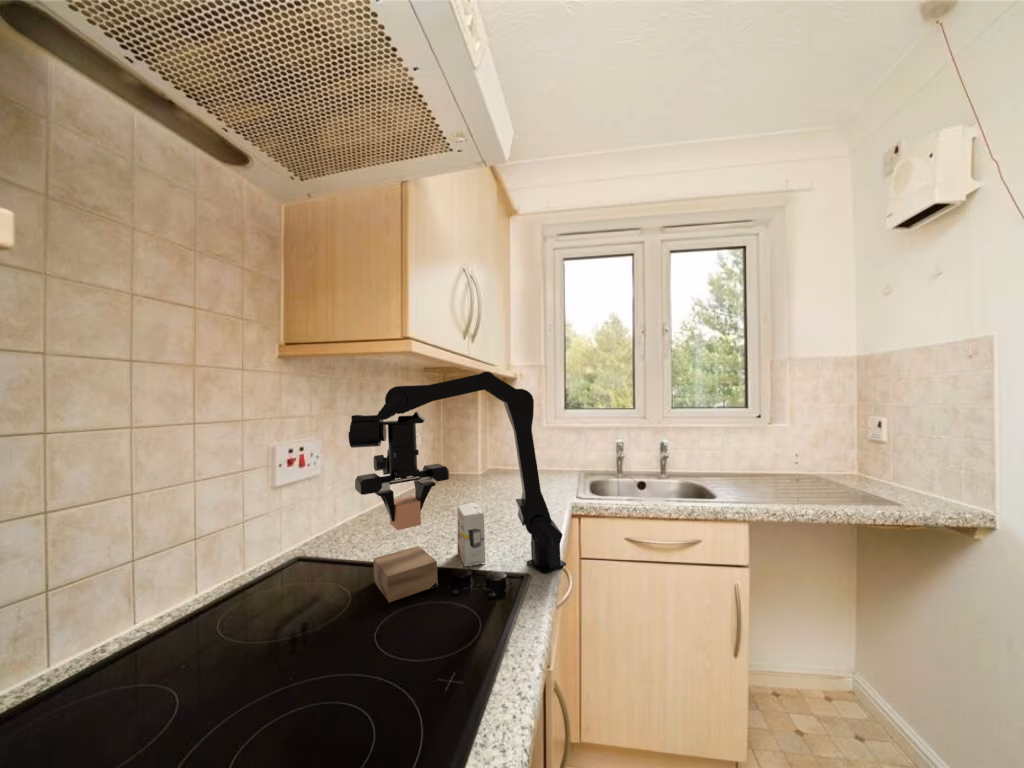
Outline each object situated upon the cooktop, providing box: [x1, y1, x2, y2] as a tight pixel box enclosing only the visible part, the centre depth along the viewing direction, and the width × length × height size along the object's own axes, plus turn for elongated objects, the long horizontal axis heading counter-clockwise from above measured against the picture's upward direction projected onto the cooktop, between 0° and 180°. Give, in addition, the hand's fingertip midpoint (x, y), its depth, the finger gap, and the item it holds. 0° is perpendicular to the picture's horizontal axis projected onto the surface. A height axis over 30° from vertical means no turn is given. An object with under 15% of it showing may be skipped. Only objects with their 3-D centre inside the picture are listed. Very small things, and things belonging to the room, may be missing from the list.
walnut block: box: [373, 545, 439, 603], centre depth 82 cm, size 10×10×5 cm
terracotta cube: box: [389, 495, 422, 531], centre depth 84 cm, size 5×5×5 cm
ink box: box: [457, 502, 486, 567], centre depth 93 cm, size 9×5×12 cm, turn 19°
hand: (405, 518), depth 84 cm, fingers closed on terracotta cube, 5 cm apart
